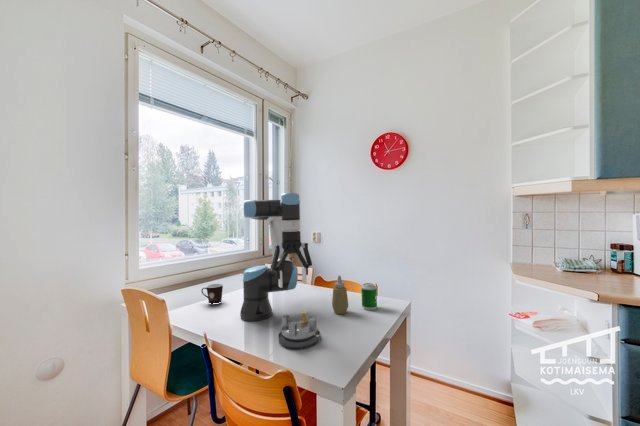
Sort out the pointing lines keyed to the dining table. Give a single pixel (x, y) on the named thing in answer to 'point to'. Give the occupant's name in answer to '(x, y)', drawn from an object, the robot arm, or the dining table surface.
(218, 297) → the coffee mug
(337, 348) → the dining table surface
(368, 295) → the soda can
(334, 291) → the squeeze bottle
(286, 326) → the four-lug metal disc
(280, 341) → the mounting flange
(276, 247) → the robot arm
